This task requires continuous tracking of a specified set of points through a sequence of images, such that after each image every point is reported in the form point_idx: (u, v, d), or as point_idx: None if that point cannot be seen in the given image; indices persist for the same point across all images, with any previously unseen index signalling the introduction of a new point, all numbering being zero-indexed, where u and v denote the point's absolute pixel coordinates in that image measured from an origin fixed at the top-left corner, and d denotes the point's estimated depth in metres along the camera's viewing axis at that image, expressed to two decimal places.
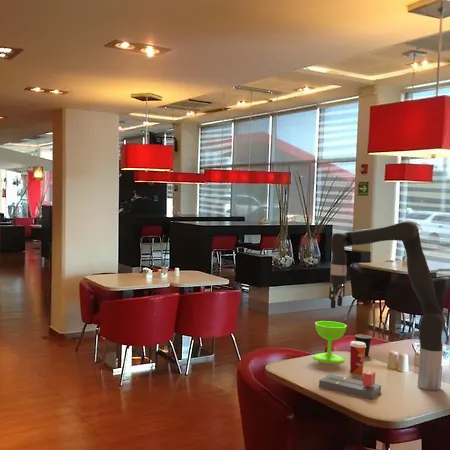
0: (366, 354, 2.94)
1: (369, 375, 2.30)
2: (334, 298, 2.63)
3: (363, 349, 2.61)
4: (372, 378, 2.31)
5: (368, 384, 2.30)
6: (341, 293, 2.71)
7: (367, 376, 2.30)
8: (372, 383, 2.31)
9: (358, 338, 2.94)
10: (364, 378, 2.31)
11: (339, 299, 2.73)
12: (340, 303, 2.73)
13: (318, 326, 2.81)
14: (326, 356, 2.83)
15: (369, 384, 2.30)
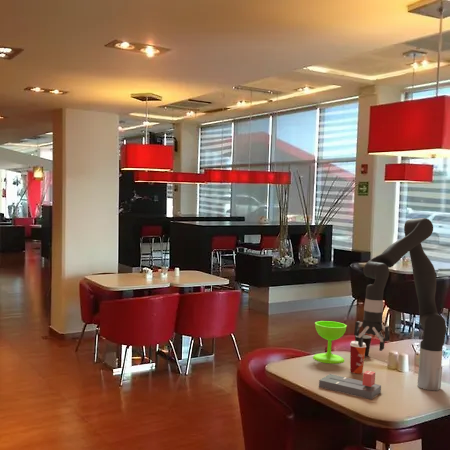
0: (366, 354, 2.94)
1: (369, 375, 2.30)
2: None
3: (363, 349, 2.61)
4: (372, 378, 2.31)
5: (368, 384, 2.30)
6: None
7: (367, 376, 2.30)
8: (372, 383, 2.31)
9: (358, 338, 2.94)
10: (364, 378, 2.31)
11: (362, 339, 2.34)
12: (362, 343, 2.35)
13: (318, 326, 2.81)
14: (326, 356, 2.83)
15: (369, 384, 2.30)
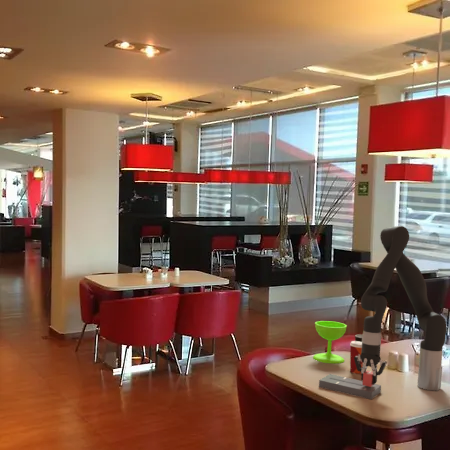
0: None
1: (369, 375, 2.30)
2: None
3: None
4: None
5: (368, 384, 2.30)
6: None
7: (367, 376, 2.30)
8: None
9: (358, 338, 2.94)
10: (364, 378, 2.31)
11: None
12: None
13: (318, 326, 2.81)
14: (326, 356, 2.83)
15: (369, 384, 2.30)
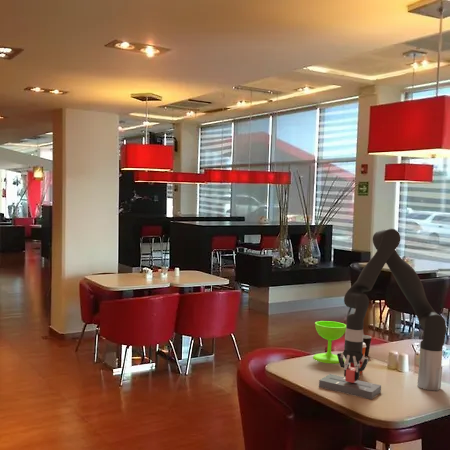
0: (366, 354, 2.94)
1: (352, 371, 2.34)
2: None
3: (363, 349, 2.61)
4: None
5: (351, 380, 2.34)
6: None
7: (349, 373, 2.35)
8: None
9: None
10: (347, 374, 2.35)
11: None
12: None
13: (318, 326, 2.81)
14: (326, 356, 2.83)
15: (352, 380, 2.34)
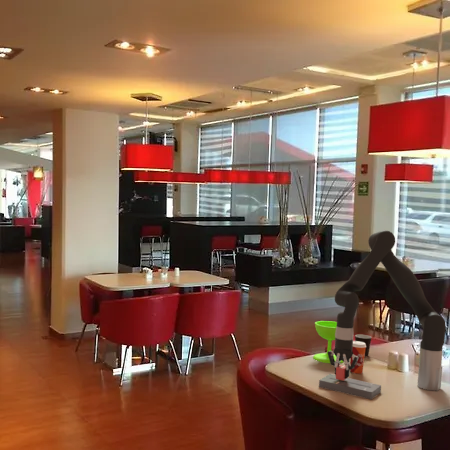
0: (366, 354, 2.94)
1: (342, 369, 2.36)
2: None
3: (363, 349, 2.61)
4: None
5: (341, 378, 2.37)
6: None
7: (339, 370, 2.37)
8: None
9: (358, 338, 2.94)
10: (337, 372, 2.37)
11: None
12: None
13: (318, 326, 2.81)
14: (326, 356, 2.83)
15: (342, 378, 2.36)
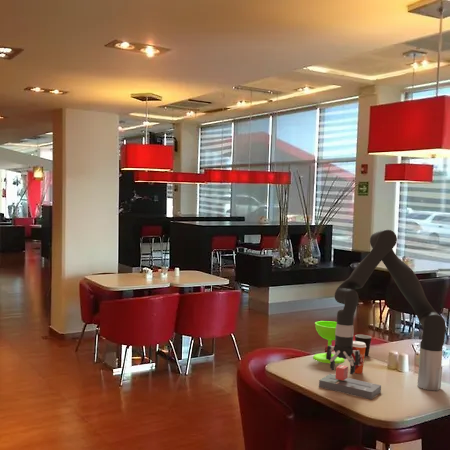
0: (366, 354, 2.94)
1: (341, 369, 2.36)
2: None
3: (363, 349, 2.61)
4: (345, 372, 2.37)
5: (341, 378, 2.37)
6: None
7: (339, 370, 2.37)
8: (345, 377, 2.38)
9: (358, 338, 2.94)
10: (337, 372, 2.38)
11: (333, 362, 2.41)
12: (334, 366, 2.41)
13: (318, 326, 2.81)
14: None
15: (341, 378, 2.36)
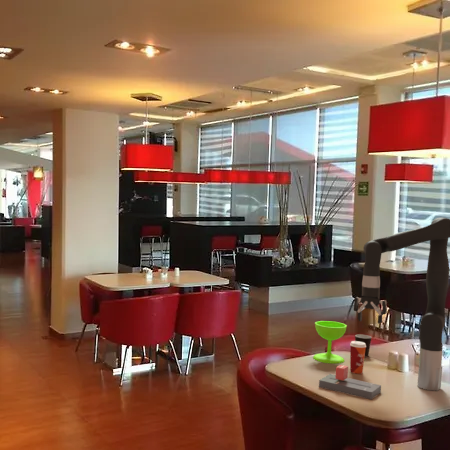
0: (366, 354, 2.94)
1: (341, 369, 2.36)
2: None
3: (363, 349, 2.61)
4: (345, 372, 2.37)
5: (341, 378, 2.37)
6: None
7: (339, 370, 2.37)
8: (345, 377, 2.38)
9: (358, 338, 2.94)
10: (337, 372, 2.38)
11: (361, 313, 2.50)
12: (361, 317, 2.50)
13: (318, 326, 2.81)
14: (326, 356, 2.83)
15: (341, 378, 2.36)
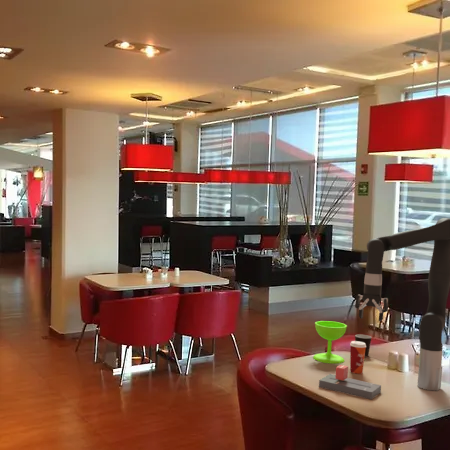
0: (366, 354, 2.94)
1: (341, 369, 2.36)
2: None
3: (363, 349, 2.61)
4: (345, 372, 2.37)
5: (341, 378, 2.37)
6: None
7: (339, 370, 2.37)
8: (345, 377, 2.38)
9: (358, 338, 2.94)
10: (337, 372, 2.38)
11: (362, 311, 2.51)
12: (362, 315, 2.51)
13: (318, 326, 2.81)
14: (326, 356, 2.83)
15: (341, 378, 2.36)
